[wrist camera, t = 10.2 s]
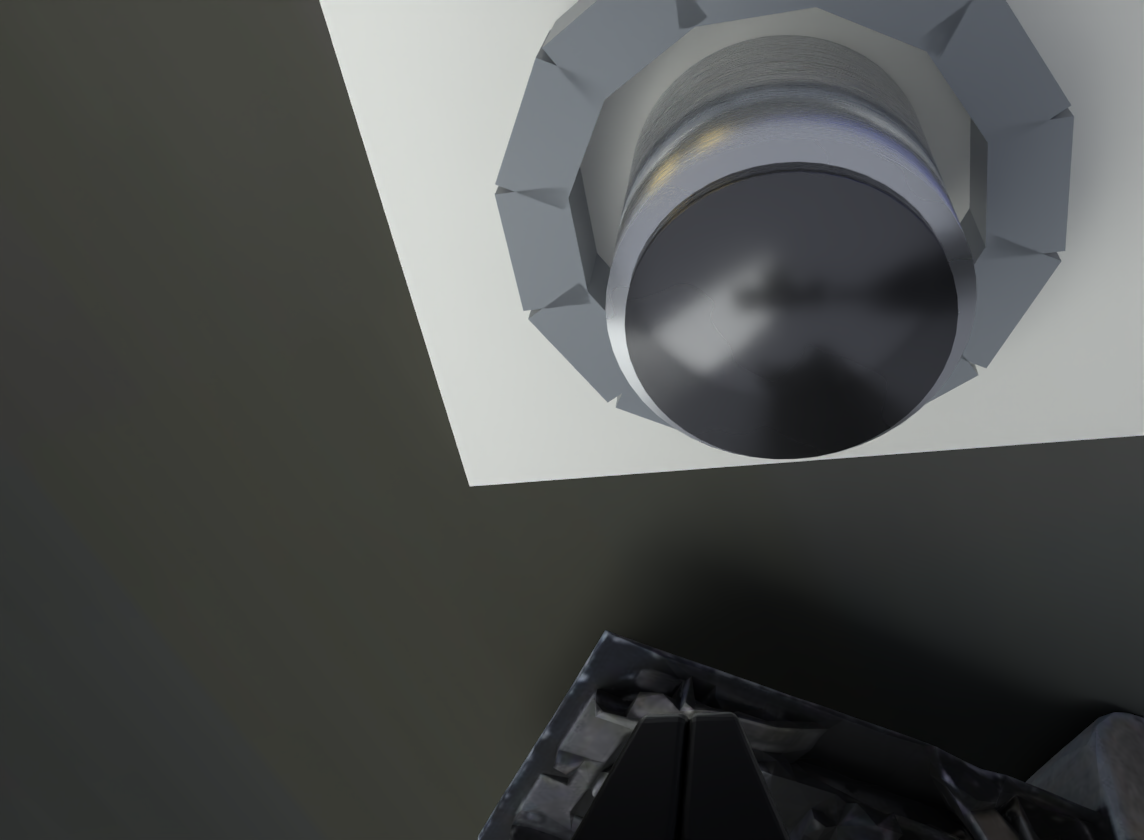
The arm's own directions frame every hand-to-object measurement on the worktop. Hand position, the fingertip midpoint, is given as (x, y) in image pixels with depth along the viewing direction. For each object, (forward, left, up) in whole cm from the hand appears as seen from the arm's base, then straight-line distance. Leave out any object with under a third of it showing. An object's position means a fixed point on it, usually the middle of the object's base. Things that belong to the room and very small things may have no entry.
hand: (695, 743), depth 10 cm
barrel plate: (-1, 0, -13) cm, 13 cm away
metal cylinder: (-1, 0, -12) cm, 12 cm away
